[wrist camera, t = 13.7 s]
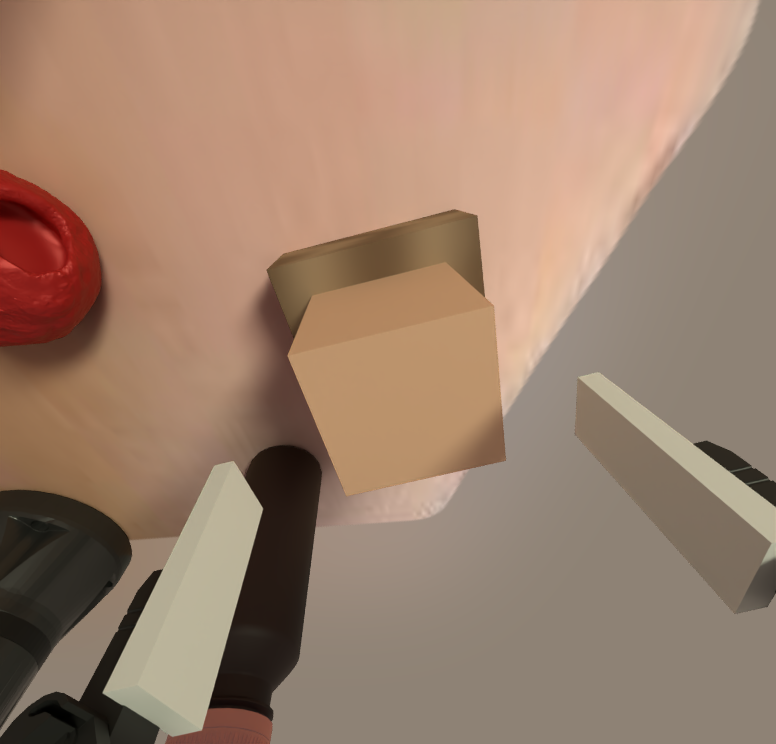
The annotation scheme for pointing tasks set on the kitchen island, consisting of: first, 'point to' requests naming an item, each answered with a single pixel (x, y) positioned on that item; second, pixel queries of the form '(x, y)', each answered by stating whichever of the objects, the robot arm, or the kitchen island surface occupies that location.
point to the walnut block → (377, 259)
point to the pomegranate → (42, 265)
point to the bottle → (266, 601)
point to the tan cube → (402, 378)
